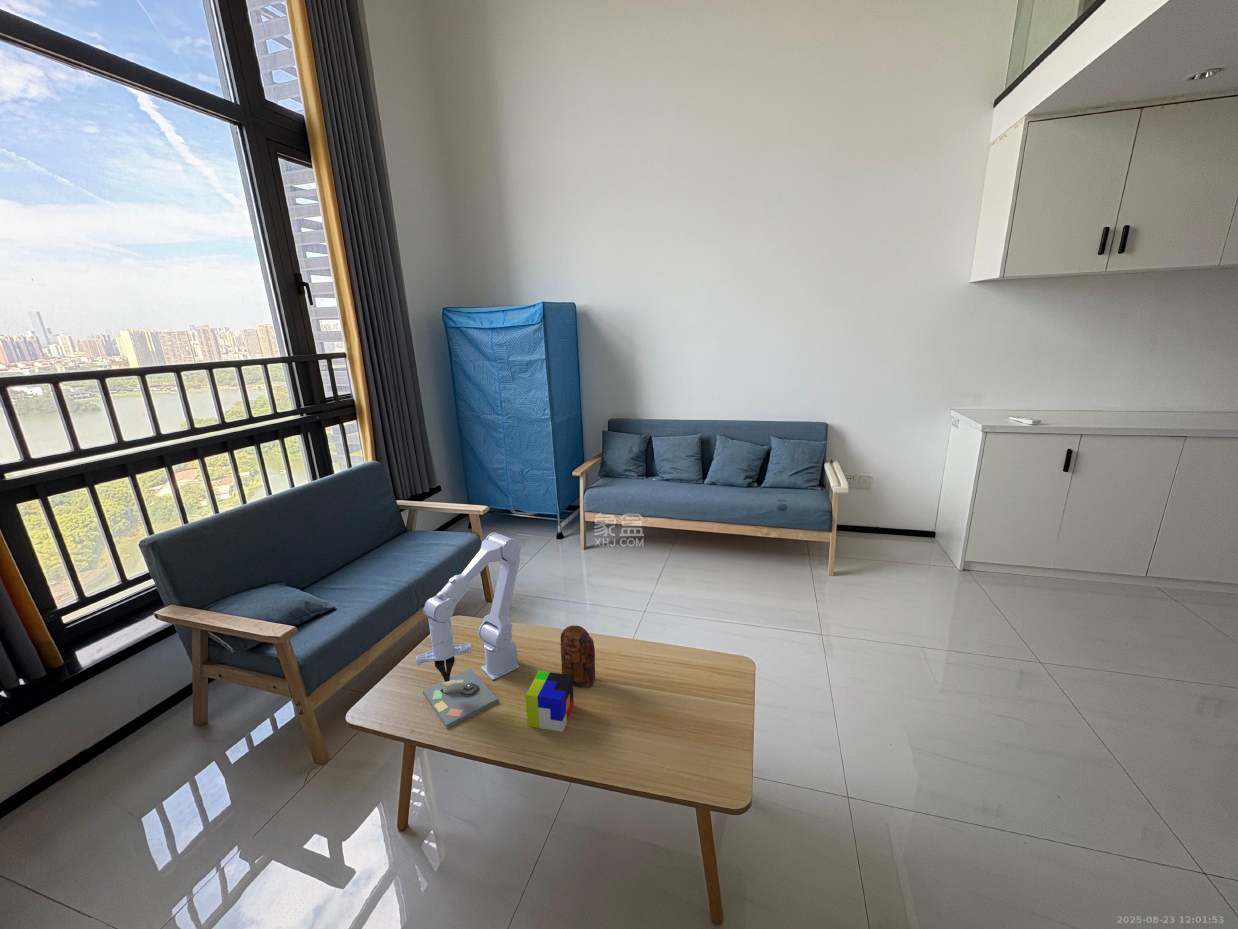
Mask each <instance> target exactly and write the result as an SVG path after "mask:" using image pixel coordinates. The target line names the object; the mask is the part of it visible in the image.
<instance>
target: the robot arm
mask: <svg viewBox="0 0 1238 929" xmlns="http://www.w3.org/2000/svg"><path fill="white" fill-rule="evenodd" d="M521 548H522V545H521V544H520V543H519V541H518V540H517V539H516V538H511V537H508V536H506V535H503V534H500V533H498V532H491V533H489V534H488V535H487V536H486V538H485V539H483V540H482V541H481V545H480V549H479V551H477V553H476V554H475V556H474V557H473V558H472V559H471V561H470V562H469V563H468V564H467V566H466V567H465V568H464V570H463V571H462V572H461V573H460V574H455V575H453V576H452V577H450V578H449V579H448V582H447V583H446V584H445V585H444V587H443V588H442V589H441V590H440V591H439V592H438V593H436V595H434V596H433V597H430V598H429V599H427V600H426V602H425V603H424V608H422V612H423V614H424V615H425V616H427V620H428V626H429V633H430V634H429V635H430V641H431V642H430V643H431V650H427V651H426V652H423V653H422V654H418V655H416V657H415V662H416V667H417V666H418V667H419V666H421V665H422V664H424V663H425V664H426V663H428V662H434V667H435V669H436V670H438V671H439V672H440V674H441V676H442V678H443V681H445V682H447V681H450V678H451V673H452V670H453V667H454V665H455V662H456V659H455V656H458V655H462V654H463V655H464V654H466V653H467V654H471V653H472V648H471V643H463V644H462V643H461V644H455V643H454V635H453V628H452V620H451V618H452V617H453V616H454V612H455V608H456V607H457V603H459V601H460V600H462V598H463V597H464V596H465V594H467V592H468V591H469V589H470V586H471V582H472V580H473V579H475V577H477V576H478V575H479V574H480V573H481V572H482V570H484V569H485V567H486V566H488V565H489V564H490V563H496V562H499V563H500V567H499V572H498V577H497V581H496V586H495V590H494V596H493V599H492V603H491V609H490V613H488V614H487V615H485V616H484V617H483V620H482V623H481V624H480V626H479V628H478V634H477V635H478V637H479V639H480V640H482V644H483V648H484V660H485V664H484V665H481V670H482V671H483V672H484V673H485V674H486V675H487V677H488V678H489V679H490V680H491V681H494V680H496V679H498V678H500V677H502V676H504V675H506V674H509V673H511V672H513V671H515V670H516V669H519V668H520V665H519V663H518V662H519V659H518V648H517V643H516V642H515V640H514V639H513V631H512V630H513V624H512V622H511V619H510V617H509V611H510V607H511V602H512V598H513V595H514V589H515V585H516V580H517V575H518V571H519V567H520V562H521V559H520V554H521Z"/></svg>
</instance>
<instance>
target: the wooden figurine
mask: <svg viewBox="0 0 1238 929" xmlns="http://www.w3.org/2000/svg"><path fill="white" fill-rule="evenodd" d="M594 644H595V642H594V639H593V638H592V637H591V636H590V633H589V632H588V630H586V629H585V628H584V627H582V626H580V625H570V626H566V627H565V628H564V629H563V631H562V632H561V634H560V652H561V653H560V658H561V662H560V663H561V674H568V675H573V687H576V688H582V687H585V688H588V689H590V688H592V687H593V685H594V683H595V681H596V651H595V650H596V649H595V645H594Z"/></svg>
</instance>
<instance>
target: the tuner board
mask: <svg viewBox="0 0 1238 929" xmlns="http://www.w3.org/2000/svg"><path fill="white" fill-rule="evenodd" d="M450 680H464V683H465V685H466V684H467V683H473V684H476V685H477V691H476V692H475V693H474V694H471V695H465V694H464V693H463V692H458V693H444V692H440V690H441V689H443V682H444V680H442V681H439V682H437V683H435V684H433V685H430V686H429V687H426V688H423V689H422V694H423V696H424V697H425V698H426V700H427V702H428V703H429V705H430V706H431V707H432V709H433V711H434V712H435V714H436V715H437V717H438V718H439V719H440V721H441V723H442V724H443V726H444V727H445V728H446V729H449V728H450V727H452V726H455V725H456V724H459V723H460V722H462V721H464V720H466V719H468V718H470V717H472V716H474V715H476V714H478V713H479V712H482V711H483V710H486V709H487V708H489V707H492V706H493V705H495V704H497V703H498V698H497V697H496V695H494V693H493V692H492V691H491V689H490V688H489V687H488V686H487V685H486V684H485V683H484V682H483V681H482V679H481V678H480V677H479V676H478V675H477V674H476V672H474V670H473V669H472V668H469V669H466V670H464V671H462V672H460V673H458V674H455V675H452V676H450Z"/></svg>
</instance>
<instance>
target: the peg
mask: <svg viewBox="0 0 1238 929" xmlns="http://www.w3.org/2000/svg"><path fill="white" fill-rule="evenodd" d="M443 681H444V680H443ZM476 691H477V685H476V684H473V683H467V684H466V685H465V683H464V680H450V681H447V682H445V681H444V682H443V689H441V690H440V692H444V693H458V692H463V693H464V694H465V695H471V694H474V693H475V692H476Z"/></svg>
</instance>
